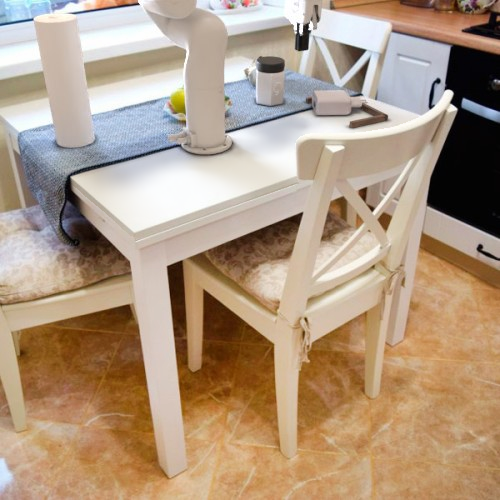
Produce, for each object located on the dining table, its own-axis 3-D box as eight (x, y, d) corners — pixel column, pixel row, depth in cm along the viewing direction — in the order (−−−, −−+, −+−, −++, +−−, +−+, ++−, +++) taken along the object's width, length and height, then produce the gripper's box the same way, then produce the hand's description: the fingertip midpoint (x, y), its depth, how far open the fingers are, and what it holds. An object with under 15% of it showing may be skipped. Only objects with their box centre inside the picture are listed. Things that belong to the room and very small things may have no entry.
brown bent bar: (351, 128, 157) (352, 122, 156) (305, 102, 173) (305, 97, 173) (387, 120, 162) (388, 115, 161) (339, 95, 178) (339, 91, 178)
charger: (369, 115, 165) (317, 116, 164) (362, 104, 172) (311, 105, 171) (372, 99, 162) (318, 100, 161) (363, 88, 170) (312, 89, 169)
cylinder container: (61, 150, 144) (37, 21, 127) (53, 136, 151) (29, 13, 134) (99, 143, 147) (81, 17, 131) (89, 130, 154) (70, 9, 138)
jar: (264, 108, 169) (265, 66, 162) (249, 99, 175) (249, 59, 168) (289, 102, 173) (291, 61, 166) (273, 94, 179) (275, 54, 172)
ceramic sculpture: (242, 60, 177) (244, 50, 190) (242, 89, 182) (244, 77, 194) (278, 61, 177) (277, 51, 190) (277, 90, 181) (276, 78, 194)
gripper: (276, -32, 144) (274, 44, 155) (310, -23, 134) (305, 59, 144) (302, -34, 147) (298, 41, 158) (337, -25, 137) (330, 55, 147)
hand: (301, 49), depth 151 cm, fingers closed
